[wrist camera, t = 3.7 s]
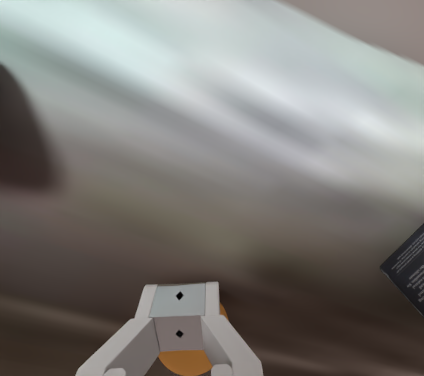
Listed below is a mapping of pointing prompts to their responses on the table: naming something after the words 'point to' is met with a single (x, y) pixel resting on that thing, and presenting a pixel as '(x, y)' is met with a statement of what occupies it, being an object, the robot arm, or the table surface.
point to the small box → (408, 269)
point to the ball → (188, 359)
